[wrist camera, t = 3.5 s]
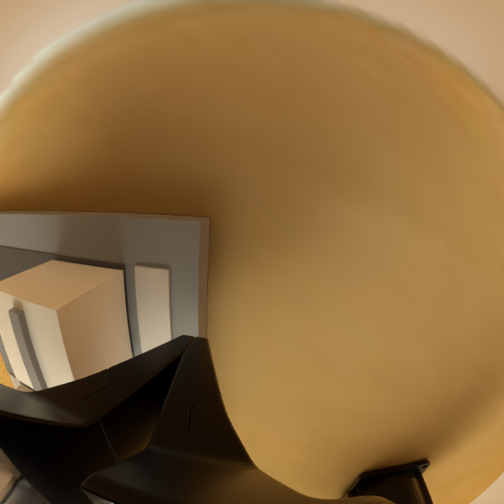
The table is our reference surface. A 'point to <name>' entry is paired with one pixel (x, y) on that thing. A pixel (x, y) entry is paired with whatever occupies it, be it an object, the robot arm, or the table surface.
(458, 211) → the table surface
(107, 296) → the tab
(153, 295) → the switch board
